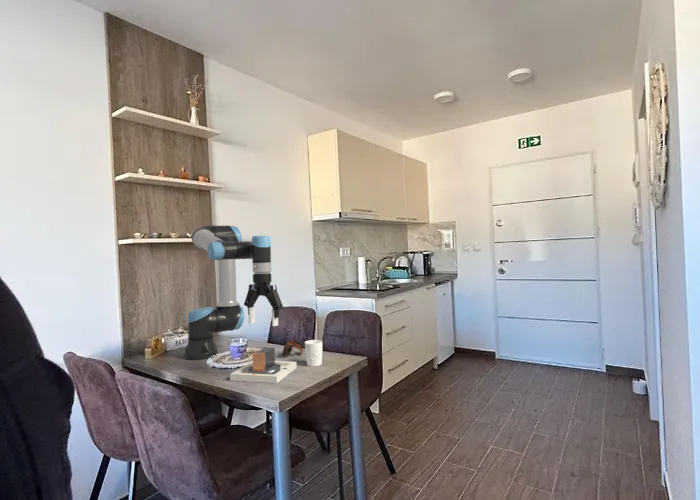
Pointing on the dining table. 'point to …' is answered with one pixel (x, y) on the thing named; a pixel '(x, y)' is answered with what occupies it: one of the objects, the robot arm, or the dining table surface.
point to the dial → (264, 362)
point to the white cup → (313, 352)
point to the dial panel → (275, 378)
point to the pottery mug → (289, 347)
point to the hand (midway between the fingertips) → (263, 324)
